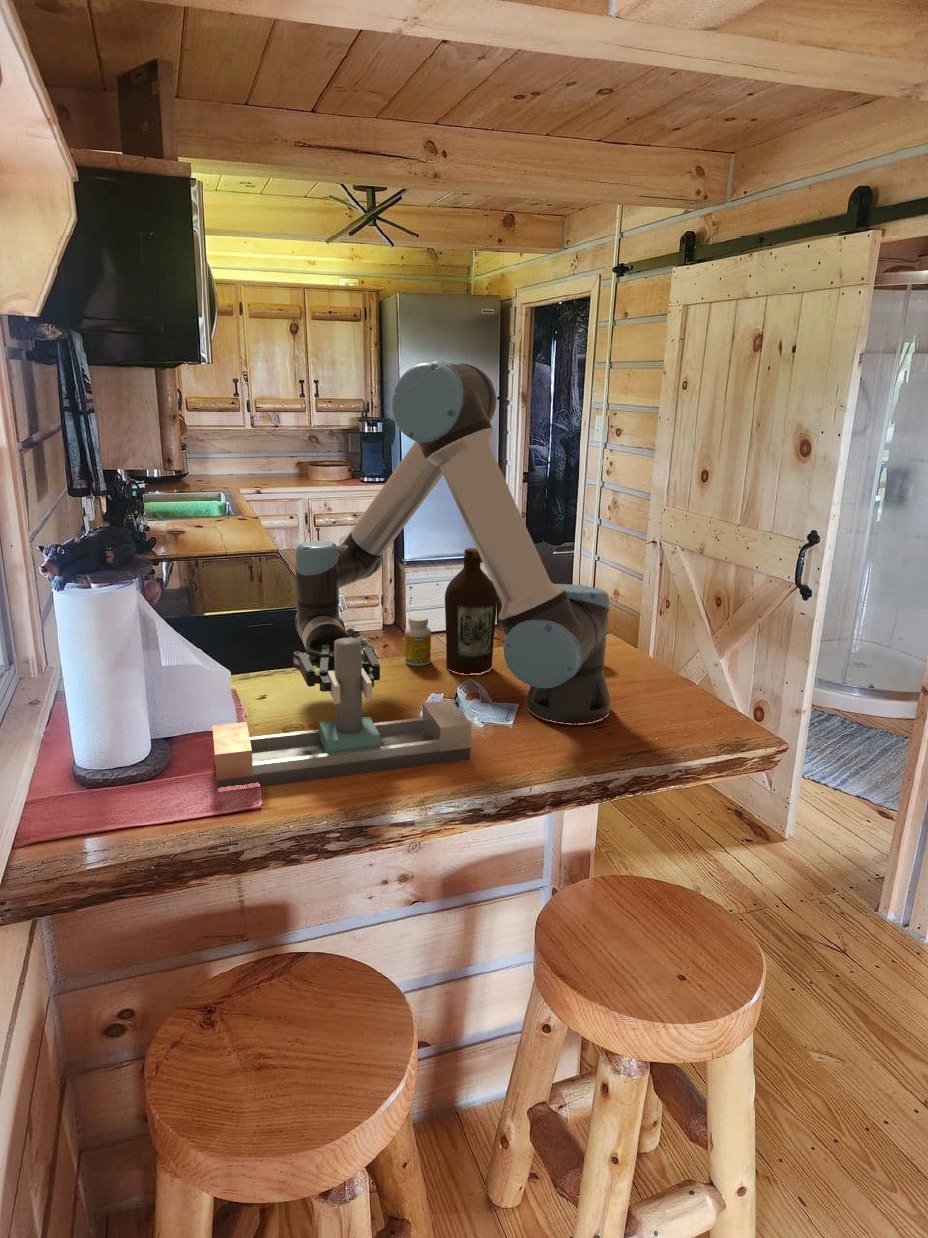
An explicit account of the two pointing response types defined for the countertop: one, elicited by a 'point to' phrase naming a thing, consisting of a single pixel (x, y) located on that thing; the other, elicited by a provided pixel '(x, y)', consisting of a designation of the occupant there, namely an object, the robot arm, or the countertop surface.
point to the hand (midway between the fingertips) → (353, 693)
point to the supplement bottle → (418, 641)
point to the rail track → (305, 760)
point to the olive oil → (470, 618)
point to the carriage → (348, 704)
